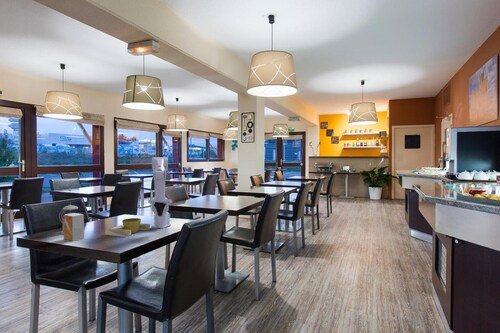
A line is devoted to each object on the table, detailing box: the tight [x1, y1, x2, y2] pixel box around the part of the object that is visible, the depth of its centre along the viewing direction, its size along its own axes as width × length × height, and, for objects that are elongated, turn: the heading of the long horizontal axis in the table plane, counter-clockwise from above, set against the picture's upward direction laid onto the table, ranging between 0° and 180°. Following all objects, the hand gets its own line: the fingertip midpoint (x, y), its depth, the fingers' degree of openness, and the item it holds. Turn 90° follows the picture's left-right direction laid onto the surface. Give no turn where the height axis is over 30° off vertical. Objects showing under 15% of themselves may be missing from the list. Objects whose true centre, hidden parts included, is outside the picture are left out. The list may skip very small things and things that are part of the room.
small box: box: [62, 212, 85, 242], centre depth 163 cm, size 8×6×13 cm
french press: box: [58, 188, 79, 235], centre depth 180 cm, size 10×12×25 cm
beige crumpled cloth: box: [105, 222, 151, 238], centre depth 179 cm, size 20×14×3 cm
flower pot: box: [121, 217, 142, 234], centre depth 179 cm, size 10×10×7 cm
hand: (160, 215), depth 178 cm, fingers closed
